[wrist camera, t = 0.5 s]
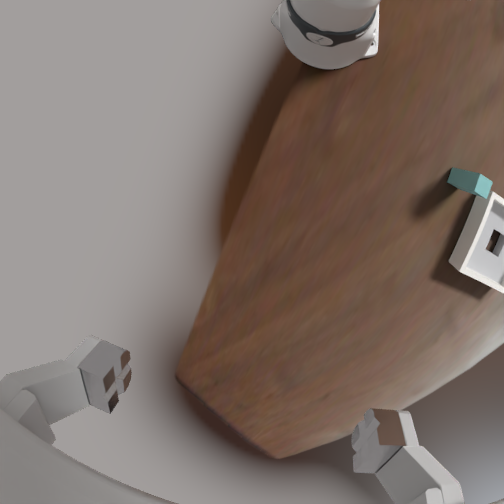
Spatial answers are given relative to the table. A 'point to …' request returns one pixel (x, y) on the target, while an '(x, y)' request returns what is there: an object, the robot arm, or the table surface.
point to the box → (482, 243)
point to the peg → (470, 182)
